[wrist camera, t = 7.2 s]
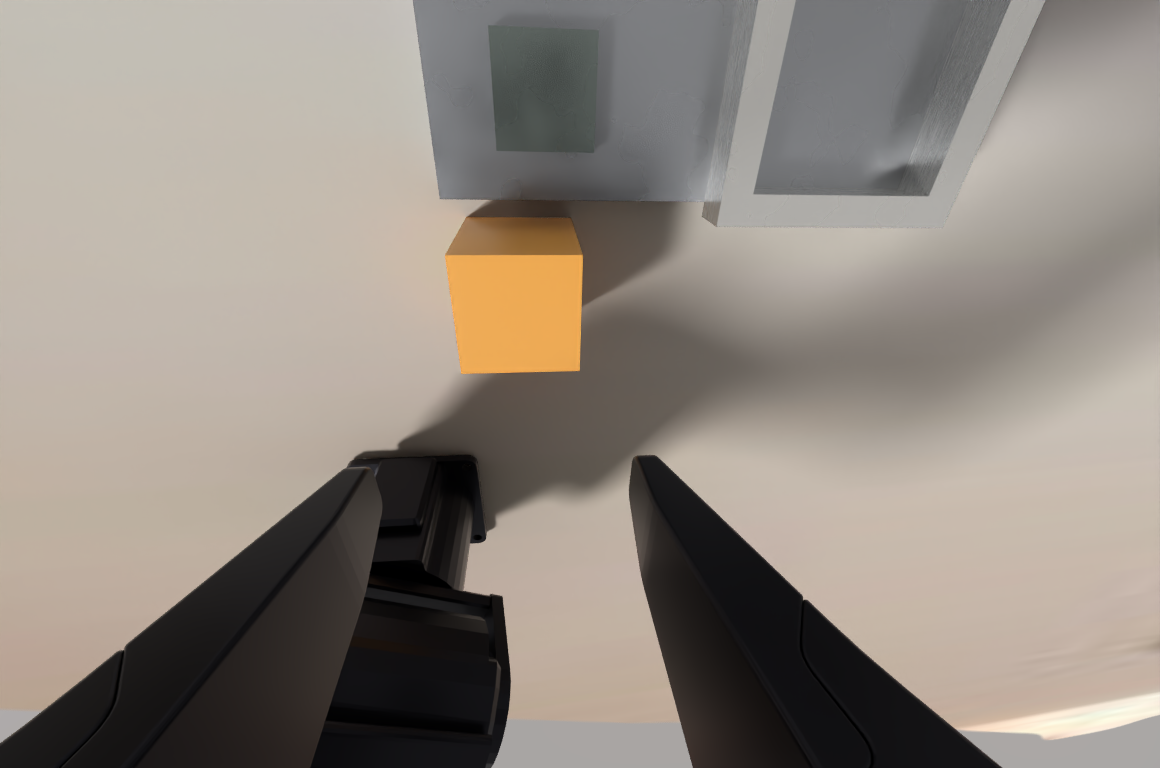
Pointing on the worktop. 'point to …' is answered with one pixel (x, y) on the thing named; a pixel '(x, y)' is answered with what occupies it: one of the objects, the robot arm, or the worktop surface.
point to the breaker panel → (720, 103)
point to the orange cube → (516, 294)
